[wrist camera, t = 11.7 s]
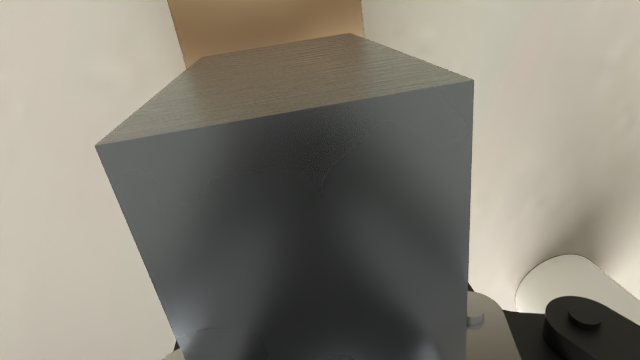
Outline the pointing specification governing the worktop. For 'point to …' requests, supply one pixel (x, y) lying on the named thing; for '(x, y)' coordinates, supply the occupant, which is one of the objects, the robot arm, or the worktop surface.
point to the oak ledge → (258, 23)
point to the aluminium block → (304, 202)
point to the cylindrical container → (573, 287)
